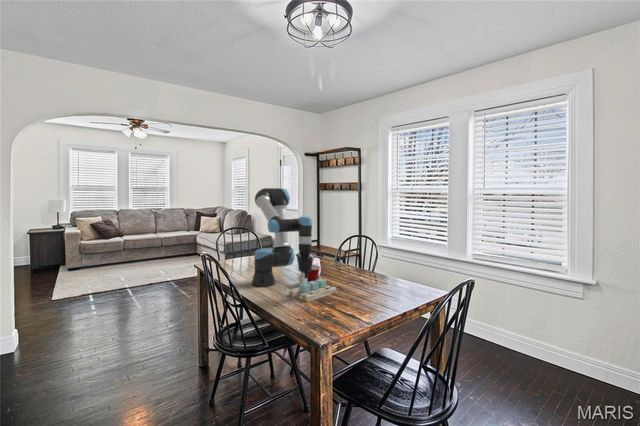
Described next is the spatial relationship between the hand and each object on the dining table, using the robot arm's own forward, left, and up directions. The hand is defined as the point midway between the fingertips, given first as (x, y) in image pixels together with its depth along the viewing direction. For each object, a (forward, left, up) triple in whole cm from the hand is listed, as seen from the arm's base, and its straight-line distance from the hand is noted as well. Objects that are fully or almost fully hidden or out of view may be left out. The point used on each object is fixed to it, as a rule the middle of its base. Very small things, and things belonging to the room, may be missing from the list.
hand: (304, 283), depth 187 cm
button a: (0, 0, -5) cm, 5 cm away
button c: (0, +14, -5) cm, 15 cm away
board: (0, +7, -8) cm, 11 cm away
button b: (0, +7, -5) cm, 9 cm away
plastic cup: (-15, +22, -8) cm, 28 cm away
